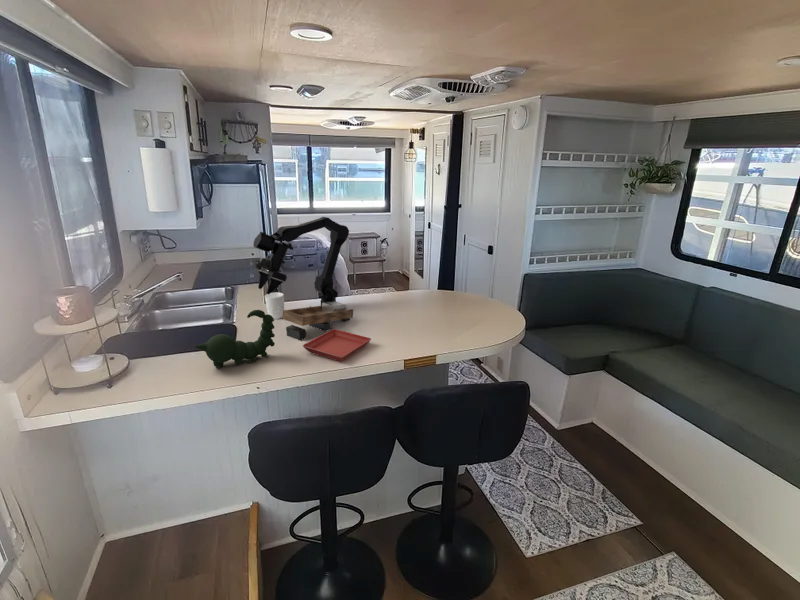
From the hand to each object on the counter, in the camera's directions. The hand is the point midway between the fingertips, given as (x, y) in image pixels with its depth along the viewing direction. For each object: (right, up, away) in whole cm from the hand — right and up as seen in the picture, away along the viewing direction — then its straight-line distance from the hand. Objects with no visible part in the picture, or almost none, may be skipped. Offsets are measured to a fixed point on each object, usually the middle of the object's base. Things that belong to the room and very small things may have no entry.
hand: (263, 291), depth 173 cm
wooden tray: (+23, -11, -2) cm, 26 cm away
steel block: (+28, -9, +4) cm, 30 cm away
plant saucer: (+34, -22, -20) cm, 45 cm away
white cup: (+2, -11, +12) cm, 17 cm away
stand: (+23, -15, -1) cm, 28 cm away
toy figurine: (+1, -25, -29) cm, 39 cm away
